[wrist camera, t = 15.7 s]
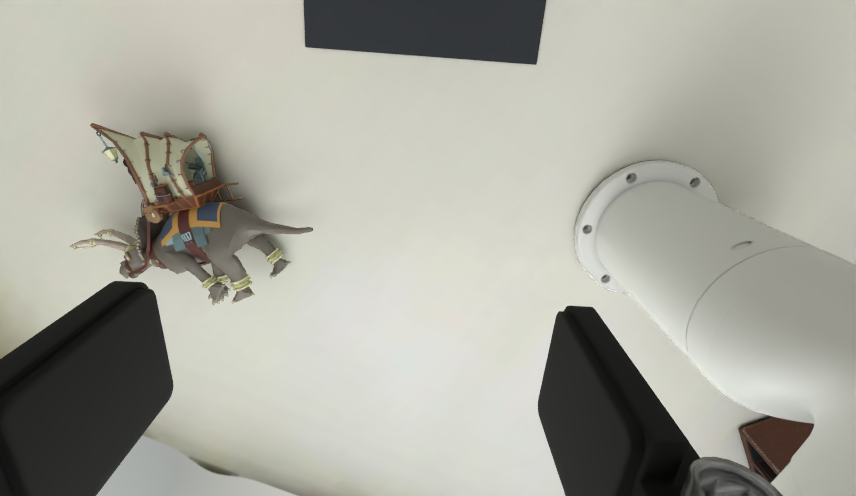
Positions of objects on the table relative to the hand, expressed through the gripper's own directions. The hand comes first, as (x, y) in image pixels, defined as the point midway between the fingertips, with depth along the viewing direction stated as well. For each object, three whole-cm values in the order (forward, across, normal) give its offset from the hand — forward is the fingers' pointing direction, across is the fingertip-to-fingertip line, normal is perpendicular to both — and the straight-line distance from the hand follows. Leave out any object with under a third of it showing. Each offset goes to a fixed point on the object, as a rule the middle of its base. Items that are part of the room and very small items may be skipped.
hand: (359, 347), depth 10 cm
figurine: (+28, +18, +6) cm, 34 cm away
